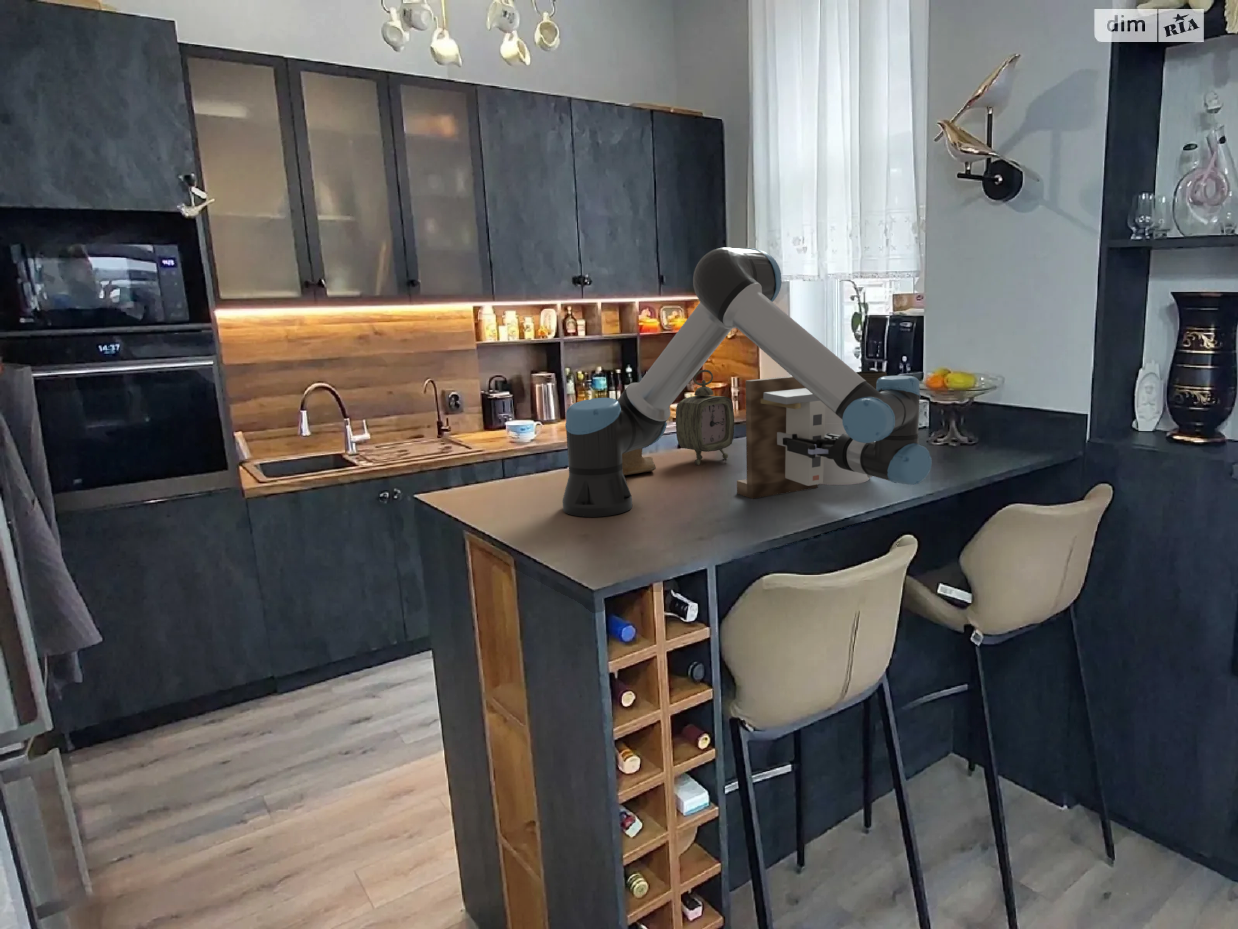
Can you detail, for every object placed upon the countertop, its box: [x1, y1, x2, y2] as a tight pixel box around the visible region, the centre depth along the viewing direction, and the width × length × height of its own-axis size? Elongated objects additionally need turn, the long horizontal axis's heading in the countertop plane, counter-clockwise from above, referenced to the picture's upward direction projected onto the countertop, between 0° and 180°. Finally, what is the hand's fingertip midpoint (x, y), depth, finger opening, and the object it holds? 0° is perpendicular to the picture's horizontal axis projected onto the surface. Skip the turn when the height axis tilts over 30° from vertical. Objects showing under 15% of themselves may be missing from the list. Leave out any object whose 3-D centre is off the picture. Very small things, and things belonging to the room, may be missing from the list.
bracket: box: [736, 375, 819, 500], centre depth 176 cm, size 18×18×26 cm
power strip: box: [763, 388, 826, 486], centre depth 172 cm, size 16×8×20 cm, turn 115°
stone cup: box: [622, 448, 657, 476], centre depth 206 cm, size 15×12×15 cm
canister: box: [822, 406, 870, 486], centre depth 192 cm, size 16×16×20 cm
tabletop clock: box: [675, 369, 735, 466], centre depth 217 cm, size 14×9×25 cm, turn 129°
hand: (787, 437), depth 178 cm, fingers closed on power strip, 4 cm apart
